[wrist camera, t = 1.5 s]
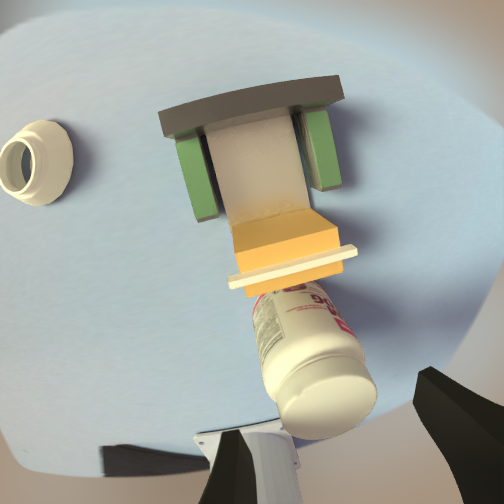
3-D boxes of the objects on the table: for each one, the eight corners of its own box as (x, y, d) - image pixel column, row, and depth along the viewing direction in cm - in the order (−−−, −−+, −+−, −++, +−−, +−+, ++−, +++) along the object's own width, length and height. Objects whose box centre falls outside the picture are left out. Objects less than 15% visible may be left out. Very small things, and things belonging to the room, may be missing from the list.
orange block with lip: (324, 241, 16) (359, 273, 12) (232, 265, 16) (236, 307, 12) (319, 206, 15) (354, 228, 11) (222, 230, 15) (221, 262, 11)
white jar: (50, 219, 15) (91, 150, 14) (24, 232, 12) (66, 152, 11) (5, 173, 13) (41, 106, 12) (-23, 180, 11) (13, 101, 10)
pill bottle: (339, 284, 18) (408, 372, 10) (309, 346, 19) (350, 445, 11) (266, 264, 17) (303, 361, 9) (241, 332, 18) (254, 443, 10)
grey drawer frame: (336, 234, 17) (371, 262, 12) (216, 265, 16) (214, 304, 12) (308, 94, 14) (339, 75, 10) (176, 123, 14) (157, 112, 10)
